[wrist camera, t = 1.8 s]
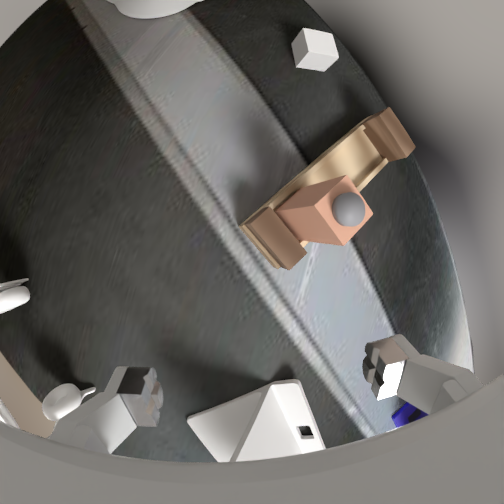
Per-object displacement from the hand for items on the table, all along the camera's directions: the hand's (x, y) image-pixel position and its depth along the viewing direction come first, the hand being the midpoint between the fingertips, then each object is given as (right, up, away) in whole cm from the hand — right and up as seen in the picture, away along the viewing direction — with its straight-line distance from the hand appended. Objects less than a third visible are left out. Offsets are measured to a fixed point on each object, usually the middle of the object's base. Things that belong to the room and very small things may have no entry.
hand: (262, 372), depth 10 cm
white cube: (+8, +35, +26) cm, 45 cm away
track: (+10, +14, +28) cm, 33 cm away
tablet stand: (+2, -29, +30) cm, 42 cm away
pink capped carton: (+5, +9, +25) cm, 27 cm away
